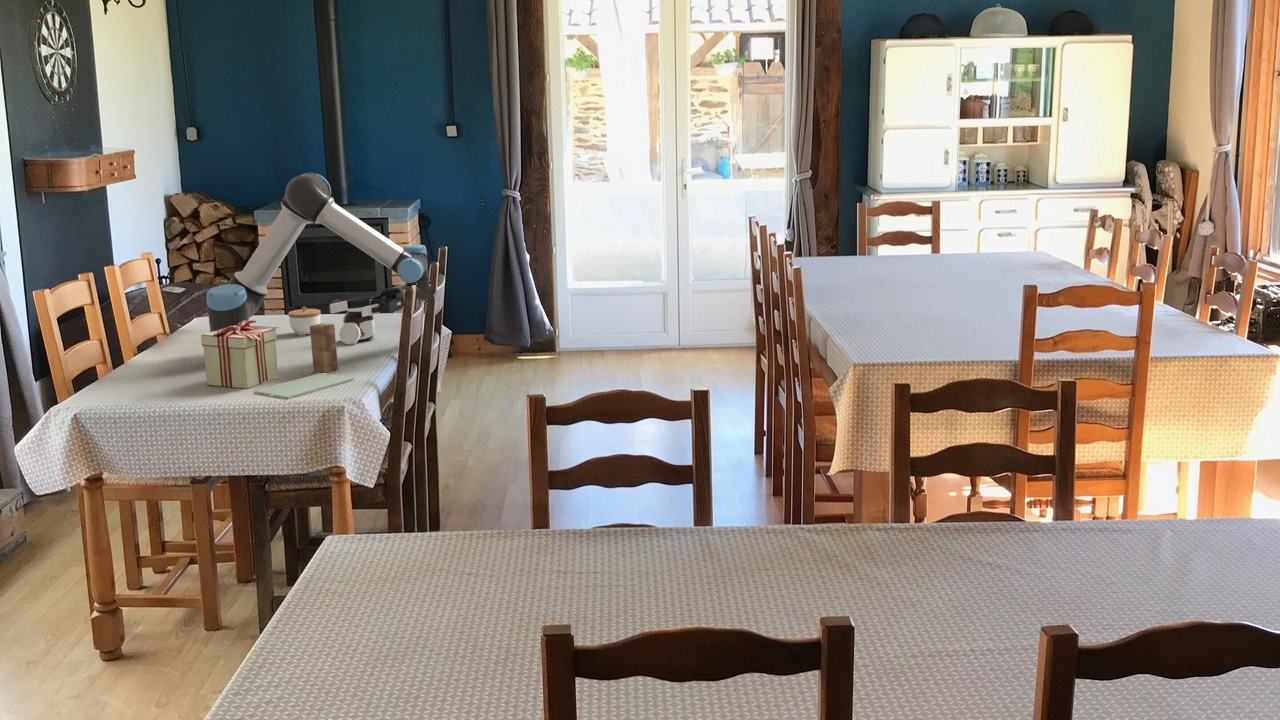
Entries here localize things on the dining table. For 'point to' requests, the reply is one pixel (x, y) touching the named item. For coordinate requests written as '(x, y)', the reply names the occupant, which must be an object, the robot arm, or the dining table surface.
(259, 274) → the robot arm
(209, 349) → the gift box
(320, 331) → the walnut block
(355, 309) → the spread jar
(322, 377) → the mat
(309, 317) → the lidded jar
